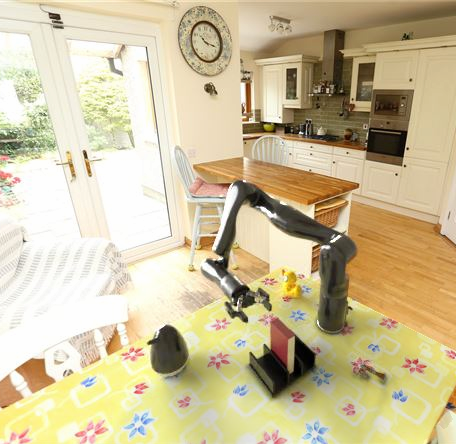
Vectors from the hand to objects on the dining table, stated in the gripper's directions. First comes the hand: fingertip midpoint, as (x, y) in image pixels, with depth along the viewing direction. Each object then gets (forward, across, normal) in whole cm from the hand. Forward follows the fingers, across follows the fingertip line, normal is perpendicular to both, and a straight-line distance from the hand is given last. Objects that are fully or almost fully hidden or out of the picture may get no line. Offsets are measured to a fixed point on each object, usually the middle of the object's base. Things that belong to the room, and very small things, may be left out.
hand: (259, 314), depth 89 cm
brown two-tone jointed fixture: (+30, +18, +11) cm, 37 cm away
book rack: (+12, 0, +11) cm, 16 cm away
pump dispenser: (-7, -26, +11) cm, 29 cm away
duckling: (-13, +23, +11) cm, 29 cm away
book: (+12, 0, +10) cm, 16 cm away
